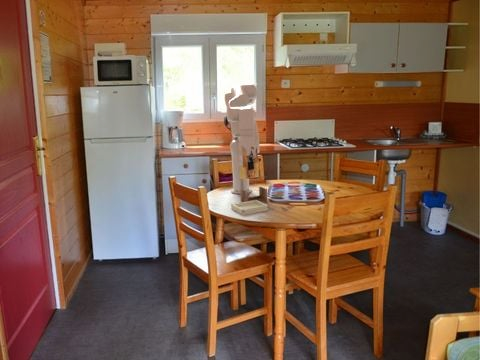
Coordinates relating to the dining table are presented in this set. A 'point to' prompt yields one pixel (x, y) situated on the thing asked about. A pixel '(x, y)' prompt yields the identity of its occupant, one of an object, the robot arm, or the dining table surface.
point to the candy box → (244, 166)
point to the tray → (249, 207)
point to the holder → (261, 197)
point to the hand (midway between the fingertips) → (248, 168)
